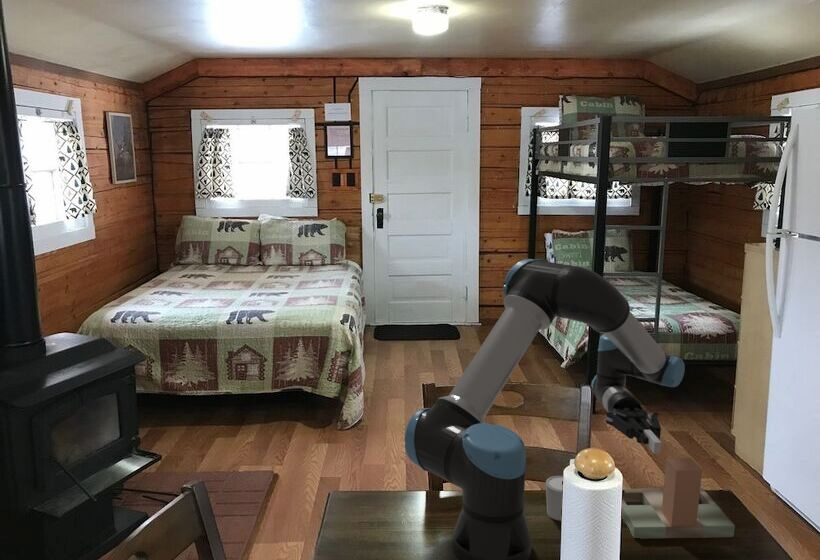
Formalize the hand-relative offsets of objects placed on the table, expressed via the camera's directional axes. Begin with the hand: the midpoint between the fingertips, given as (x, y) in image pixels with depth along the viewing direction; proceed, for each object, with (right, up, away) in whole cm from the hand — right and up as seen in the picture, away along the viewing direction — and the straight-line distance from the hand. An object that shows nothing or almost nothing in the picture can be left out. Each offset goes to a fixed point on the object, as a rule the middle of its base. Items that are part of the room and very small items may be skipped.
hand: (657, 448), depth 148 cm
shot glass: (-22, -13, -5) cm, 26 cm away
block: (0, -11, -12) cm, 16 cm away
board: (0, -13, -6) cm, 14 cm away
